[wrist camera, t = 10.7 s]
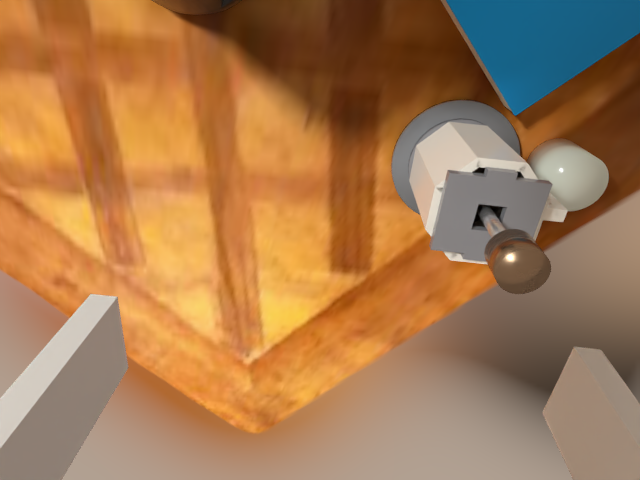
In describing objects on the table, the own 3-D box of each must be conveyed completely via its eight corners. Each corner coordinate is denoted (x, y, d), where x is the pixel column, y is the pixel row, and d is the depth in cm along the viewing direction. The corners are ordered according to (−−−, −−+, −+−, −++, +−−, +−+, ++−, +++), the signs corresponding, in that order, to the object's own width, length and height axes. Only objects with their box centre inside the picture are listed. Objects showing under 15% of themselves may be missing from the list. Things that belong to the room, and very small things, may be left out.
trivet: (403, 92, 48) (404, 94, 47) (534, 106, 48) (537, 108, 47) (382, 212, 54) (382, 214, 54) (497, 224, 54) (499, 227, 54)
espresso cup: (534, 135, 49) (557, 152, 44) (589, 141, 49) (618, 158, 44) (514, 197, 53) (533, 219, 47) (565, 203, 53) (589, 226, 47)
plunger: (454, 167, 44) (504, 246, 30) (491, 171, 44) (558, 252, 30) (446, 201, 45) (489, 290, 32) (481, 205, 45) (540, 296, 31)
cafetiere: (417, 113, 48) (441, 152, 36) (536, 126, 48) (601, 169, 36) (400, 202, 53) (416, 263, 41) (508, 214, 53) (556, 278, 41)
